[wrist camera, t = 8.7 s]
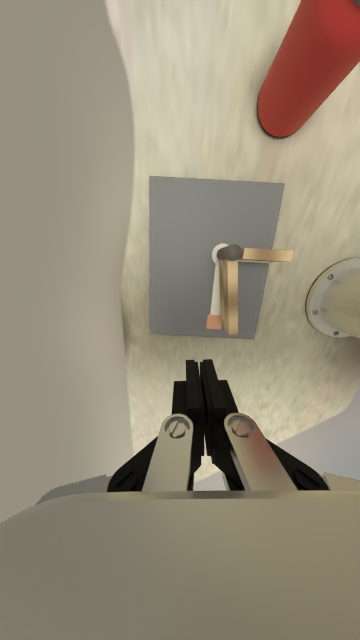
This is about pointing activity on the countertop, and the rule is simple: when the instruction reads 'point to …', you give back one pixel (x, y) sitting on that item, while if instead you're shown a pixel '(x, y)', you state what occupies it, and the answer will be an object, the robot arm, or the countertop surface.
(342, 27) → the beer can
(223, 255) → the fence gate
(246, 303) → the card
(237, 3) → the countertop surface
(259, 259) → the bar
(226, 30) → the countertop surface
